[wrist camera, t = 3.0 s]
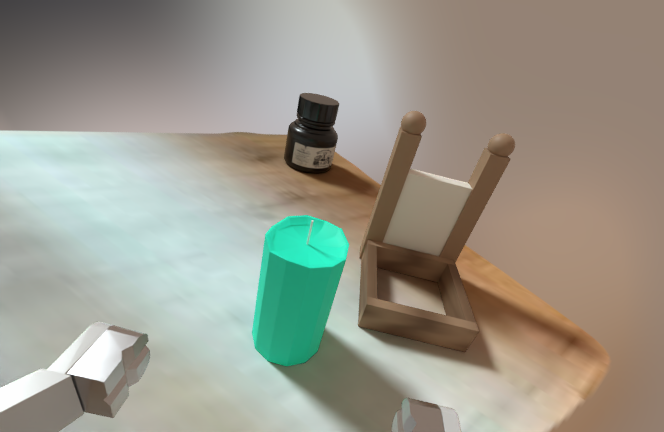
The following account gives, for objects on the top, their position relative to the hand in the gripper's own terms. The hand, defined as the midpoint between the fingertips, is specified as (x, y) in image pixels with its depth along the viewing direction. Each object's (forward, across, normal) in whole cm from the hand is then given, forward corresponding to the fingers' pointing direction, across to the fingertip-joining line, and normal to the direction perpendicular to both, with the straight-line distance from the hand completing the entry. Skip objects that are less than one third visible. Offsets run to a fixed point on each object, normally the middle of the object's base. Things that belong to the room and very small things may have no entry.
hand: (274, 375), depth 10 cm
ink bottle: (+51, -6, -14) cm, 53 cm away
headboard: (+27, +11, -14) cm, 32 cm away
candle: (+13, -1, -14) cm, 19 cm away
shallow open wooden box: (+21, +11, -14) cm, 27 cm away
